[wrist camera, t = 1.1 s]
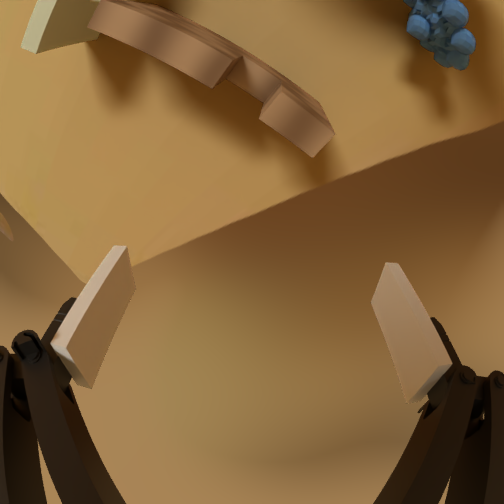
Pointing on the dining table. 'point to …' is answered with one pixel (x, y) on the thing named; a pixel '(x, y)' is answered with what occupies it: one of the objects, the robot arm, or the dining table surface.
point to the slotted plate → (59, 24)
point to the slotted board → (216, 66)
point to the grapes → (442, 30)
